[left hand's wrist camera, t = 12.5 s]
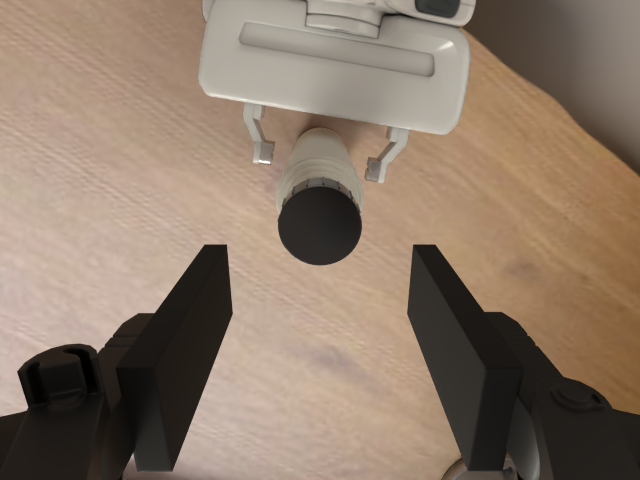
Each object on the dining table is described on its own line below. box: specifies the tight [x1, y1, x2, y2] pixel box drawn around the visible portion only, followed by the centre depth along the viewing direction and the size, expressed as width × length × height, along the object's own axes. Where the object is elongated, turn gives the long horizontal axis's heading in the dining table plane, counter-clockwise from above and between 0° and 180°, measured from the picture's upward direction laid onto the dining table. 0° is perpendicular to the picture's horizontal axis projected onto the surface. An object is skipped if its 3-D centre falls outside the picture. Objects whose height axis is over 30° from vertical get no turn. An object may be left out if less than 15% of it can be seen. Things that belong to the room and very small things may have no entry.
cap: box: [278, 177, 362, 265], centre depth 21 cm, size 4×4×2 cm
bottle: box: [276, 127, 364, 215], centre depth 30 cm, size 5×5×22 cm
